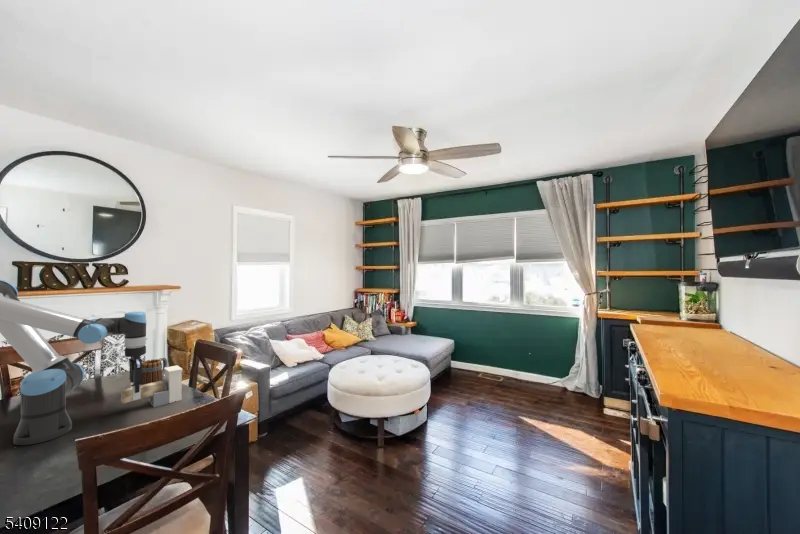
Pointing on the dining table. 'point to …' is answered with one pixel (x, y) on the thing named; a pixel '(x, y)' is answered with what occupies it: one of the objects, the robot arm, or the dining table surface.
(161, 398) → the u-notched block
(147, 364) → the mug
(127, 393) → the rail
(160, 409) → the dining table surface
